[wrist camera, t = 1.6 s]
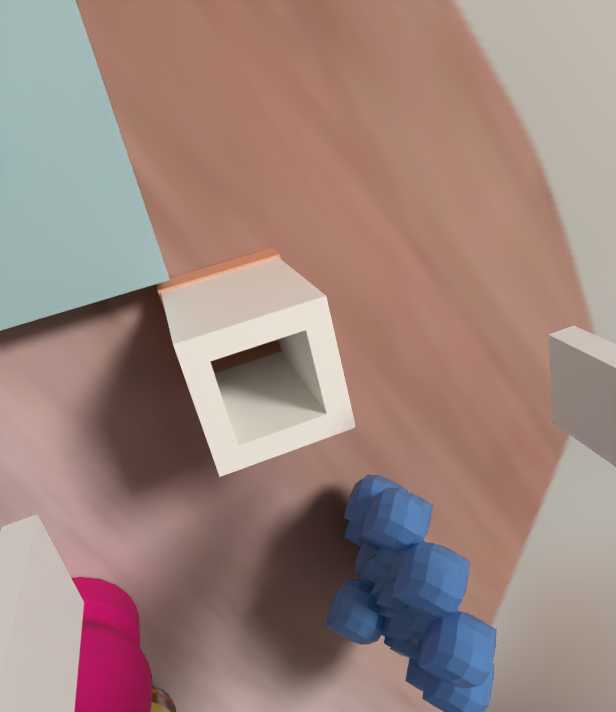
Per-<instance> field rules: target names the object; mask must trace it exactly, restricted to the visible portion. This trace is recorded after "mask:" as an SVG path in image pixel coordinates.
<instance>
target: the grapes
mask: <svg viewBox="0 0 616 712" xmlns="http://www.w3.org/2000/svg"><path fill="white" fill-rule="evenodd" d="M432 507H433V505H432V504H430V503H428V502H427V501H425V500H424V499H422V498H420V497H418V496H416V495H414V494H412V493H410V492H408V490H406V489H405V488H403V487H402V486H400V485H399V484H397V483H395V482H393V481H390V480H388V479H386V478H384V477H381V476H379V475H367V476H366V477H364V478H363V479H361V480H360V481H359V482H357V483H356V484H355V486H354V488H353V490H352V492H351V495H350V497H349V501H348V504H347V507H346V511H345V515H344V518H346V519H347V520H349V522H348V525H347V529H346V533H345V537H344V538H346V539H348V540H349V541H351V542H353V543H355V544H356V545H358V546H360V547H361V548H360V550H359V552H358V555H357V559H356V562H355V565H356V568H355V574H357V575H358V576H359V580H355V579H350V580H348V581H346V582H345V583H343V584H342V585H341V586H340V587H339V588H338V590H337V592H336V594H335V596H334V598H333V601H332V604H331V607H330V611H329V614H328V618H327V622H326V627H327V628H328V629H330V630H332V631H333V632H335V633H337V634H338V635H340V636H342V637H344V638H345V639H347V640H349V641H352V642H355V643H358V644H371V643H373V642H376V641H378V639H379V638H380V636H381V635H383V636H385V640H384V643H385V644H386V645H388V646H390V647H391V648H390V649H391V650H393V651H395V652H397V653H399V654H400V655H403V656H406V657H409V658H410V659H409V664H408V669H407V675H406V681H407V682H408V683H410V684H411V685H413V686H415V687H416V688H418V689H420V690H421V691H423V699H424V700H426V701H427V702H429V703H430V704H432V705H433V706H435V707H437V708H438V709H440V710H442V711H444V712H484V711H485V710H486V708H487V707H488V705H489V701H490V697H491V691H492V685H493V679H494V663H493V658H494V653H495V647H496V629H495V628H493V627H491V626H490V625H488V624H486V623H485V622H483V621H481V620H479V619H477V618H476V617H474V616H472V615H470V614H468V613H464V612H460V611H458V606H459V604H460V603H461V601H462V599H463V597H464V594H465V592H466V587H467V581H468V576H469V565H470V561H469V560H467V559H465V558H464V557H462V556H461V555H459V554H457V553H455V552H454V551H452V550H450V549H448V548H446V547H444V546H441V545H438V544H434V543H427V542H424V541H423V540H424V538H425V536H426V534H427V532H428V529H429V524H430V519H431V513H432Z"/></svg>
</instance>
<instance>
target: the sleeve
mask: <svg viewBox="0 0 616 712" xmlns="http://www.w3.org/2000/svg"><path fill="white" fill-rule="evenodd" d="M169 279H170V280H168V281H165V282H161V283H158V284H156V286H157V290H158V293H159V296H160V299H161V302H162V305H163V308H164V310H165V313H166V317H167V321H168V325H169V329H170V334H171V338H172V342H173V346H174V349H175V351H176V354H177V357H178V360H179V363H180V366H181V368H182V371H183V374H184V377H185V380H186V383H187V385H188V388H189V391H190V394H191V397H192V400H193V403H194V405H195V408H196V411H197V414H198V417H199V420H200V422H201V425H202V428H203V431H204V434H205V437H206V439H207V442H208V445H209V448H210V451H211V454H212V456H213V459H214V462H215V465H216V468H217V471H218V473H219V476H220V477H221V476H224V475H226V474H229V473H232V472H235V471H237V470H240V469H243V468H246V467H248V466H251V465H254V464H257V463H259V462H262V461H265V460H268V459H270V458H273V457H276V456H279V455H281V454H284V453H287V452H290V451H292V450H295V449H298V448H301V447H303V446H306V445H309V444H312V443H314V442H317V441H320V440H323V439H325V438H328V437H331V436H334V435H336V434H339V433H342V432H344V431H347V430H350V429H353V428H355V427H356V426H355V422H354V417H353V413H352V408H351V404H350V400H349V395H348V391H347V386H346V382H345V377H344V373H343V369H342V364H341V360H340V355H339V351H338V346H337V342H336V338H335V333H334V329H333V324H332V320H331V315H330V311H329V307H328V302H327V298H326V295H324V294H323V293H322V292H321V291H319V290H318V289H317V288H316V287H314V286H313V285H312V284H311V283H309V282H308V281H307V280H306V279H305V278H303V277H302V276H301V275H300V274H298V273H297V272H296V271H295V270H293V269H292V268H291V267H290V266H288V265H287V264H286V263H285V262H283V261H282V260H281V258H280V254H279V253H277V252H276V251H275V250H274V249H272V248H269V249H266V250H262V251H259V252H256V253H252V254H249V255H246V256H242V257H239V258H236V259H232V260H229V261H226V262H222V263H219V264H216V265H212V266H209V267H205V268H202V269H199V270H195V271H192V272H189V273H185V274H182V275H179V276H175V277H172V278H169Z"/></svg>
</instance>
